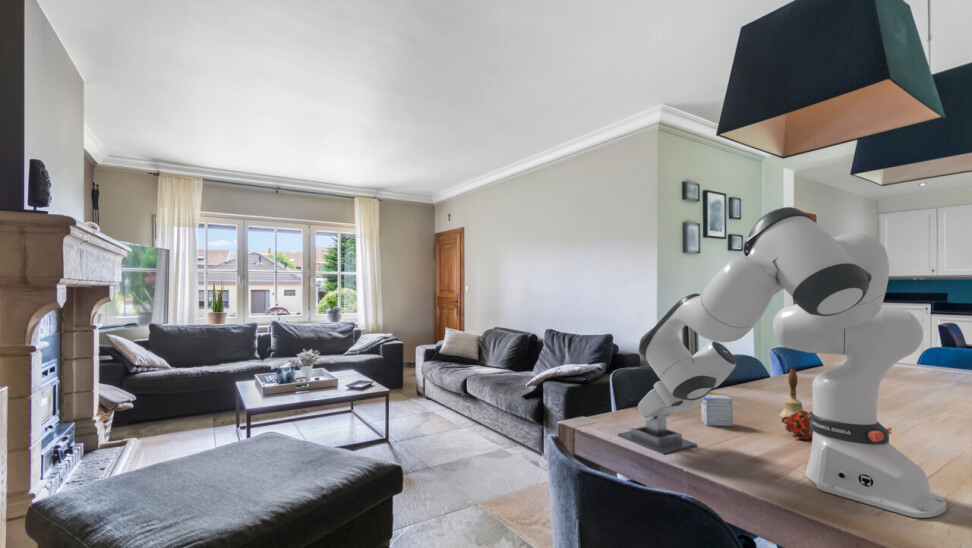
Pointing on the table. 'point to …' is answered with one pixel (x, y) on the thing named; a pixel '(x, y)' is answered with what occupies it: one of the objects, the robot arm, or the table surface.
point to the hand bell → (792, 397)
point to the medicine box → (717, 410)
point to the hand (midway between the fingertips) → (655, 417)
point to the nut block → (657, 426)
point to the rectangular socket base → (658, 440)
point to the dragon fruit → (799, 424)
